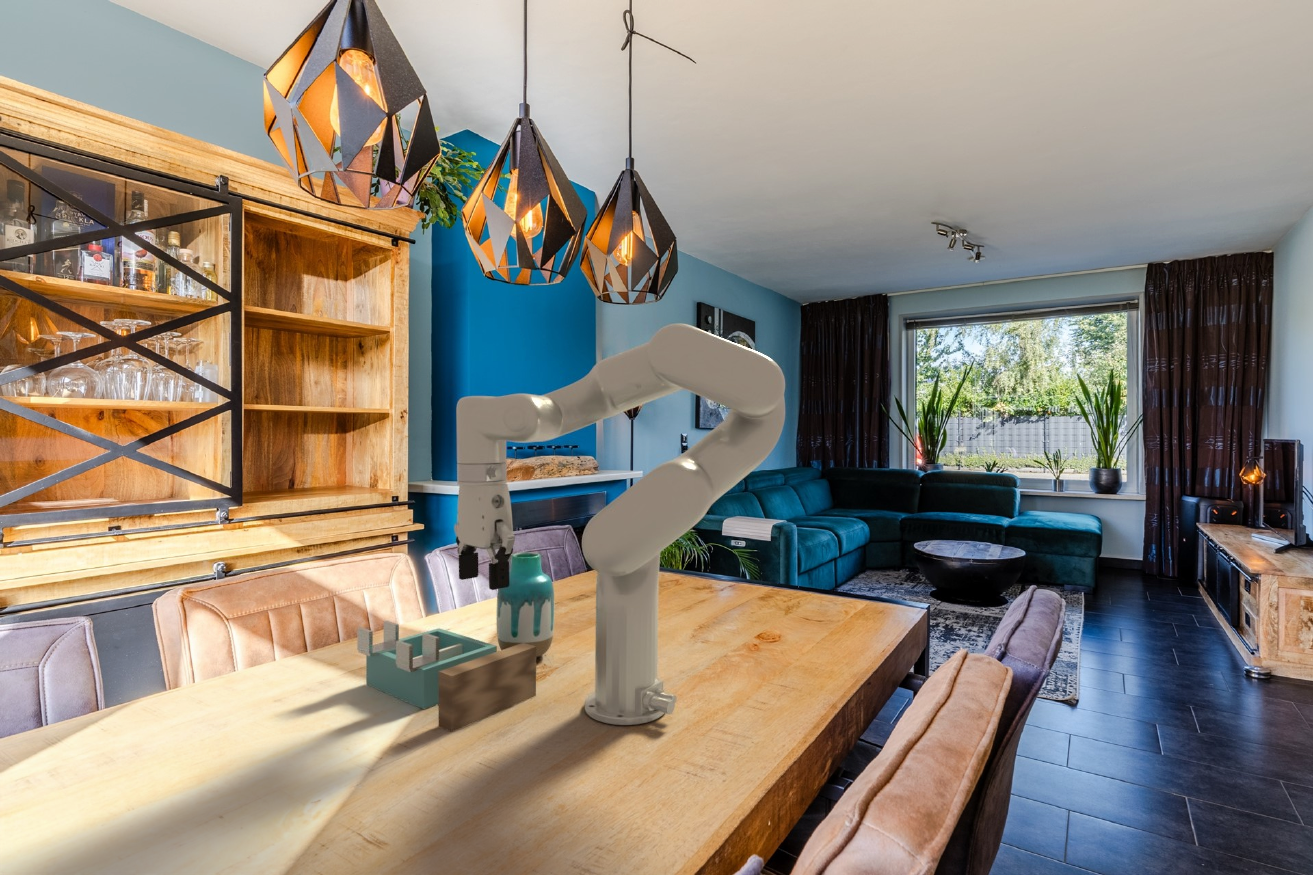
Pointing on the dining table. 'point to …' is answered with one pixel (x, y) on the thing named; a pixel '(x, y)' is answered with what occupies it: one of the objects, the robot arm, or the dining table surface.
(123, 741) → the dining table surface
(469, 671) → the door
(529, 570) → the vase
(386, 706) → the dining table surface
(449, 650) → the box
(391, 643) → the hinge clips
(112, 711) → the dining table surface
